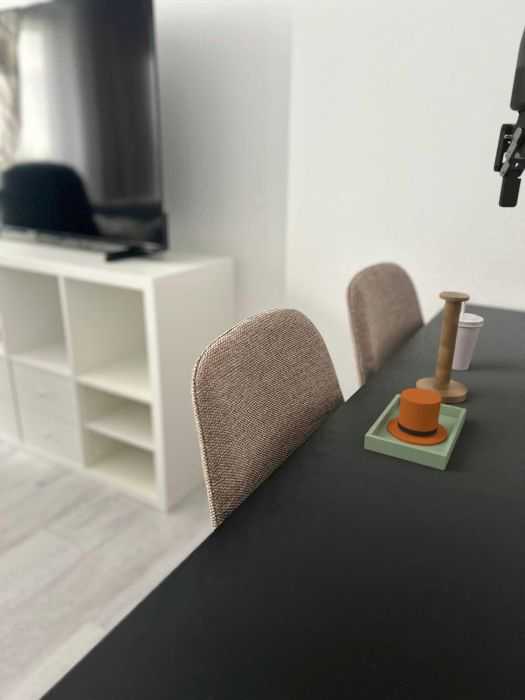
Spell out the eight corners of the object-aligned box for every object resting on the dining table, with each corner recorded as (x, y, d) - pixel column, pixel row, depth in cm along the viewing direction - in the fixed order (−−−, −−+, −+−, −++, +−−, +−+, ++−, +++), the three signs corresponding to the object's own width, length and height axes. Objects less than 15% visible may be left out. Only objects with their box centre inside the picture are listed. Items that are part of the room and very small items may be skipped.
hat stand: (452, 383, 88) (467, 288, 83) (475, 403, 81) (492, 300, 75) (408, 384, 88) (419, 289, 82) (426, 404, 80) (440, 301, 75)
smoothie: (443, 358, 100) (454, 288, 95) (478, 365, 97) (490, 292, 92) (436, 368, 95) (446, 294, 90) (472, 375, 92) (485, 299, 87)
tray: (395, 405, 80) (397, 393, 79) (464, 421, 75) (466, 408, 74) (363, 448, 67) (365, 435, 66) (444, 470, 62) (446, 456, 62)
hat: (432, 417, 75) (437, 383, 73) (457, 444, 67) (463, 407, 66) (379, 418, 74) (382, 384, 72) (398, 447, 67) (403, 409, 65)
